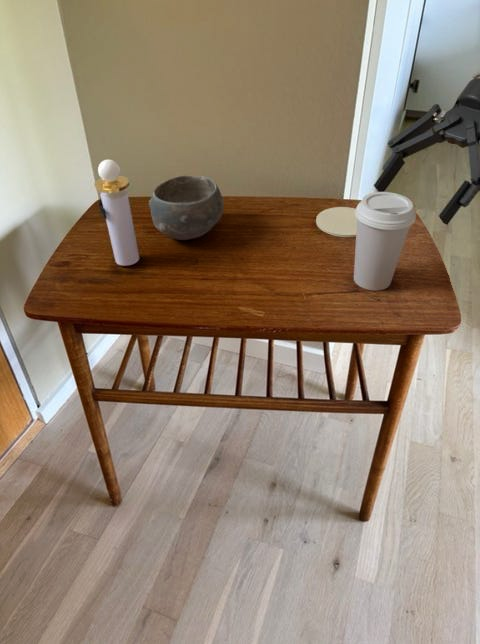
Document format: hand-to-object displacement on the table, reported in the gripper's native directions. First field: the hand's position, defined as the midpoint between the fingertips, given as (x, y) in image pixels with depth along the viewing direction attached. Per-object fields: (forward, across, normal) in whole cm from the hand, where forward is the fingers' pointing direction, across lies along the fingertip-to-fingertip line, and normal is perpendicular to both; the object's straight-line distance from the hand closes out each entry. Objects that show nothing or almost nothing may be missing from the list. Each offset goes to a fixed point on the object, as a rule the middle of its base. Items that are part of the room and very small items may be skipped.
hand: (408, 204), depth 80 cm
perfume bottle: (+37, +32, +18) cm, 52 cm away
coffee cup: (+13, 0, -5) cm, 14 cm away
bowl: (+26, +34, +8) cm, 43 cm away
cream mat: (+6, +18, -12) cm, 22 cm away
